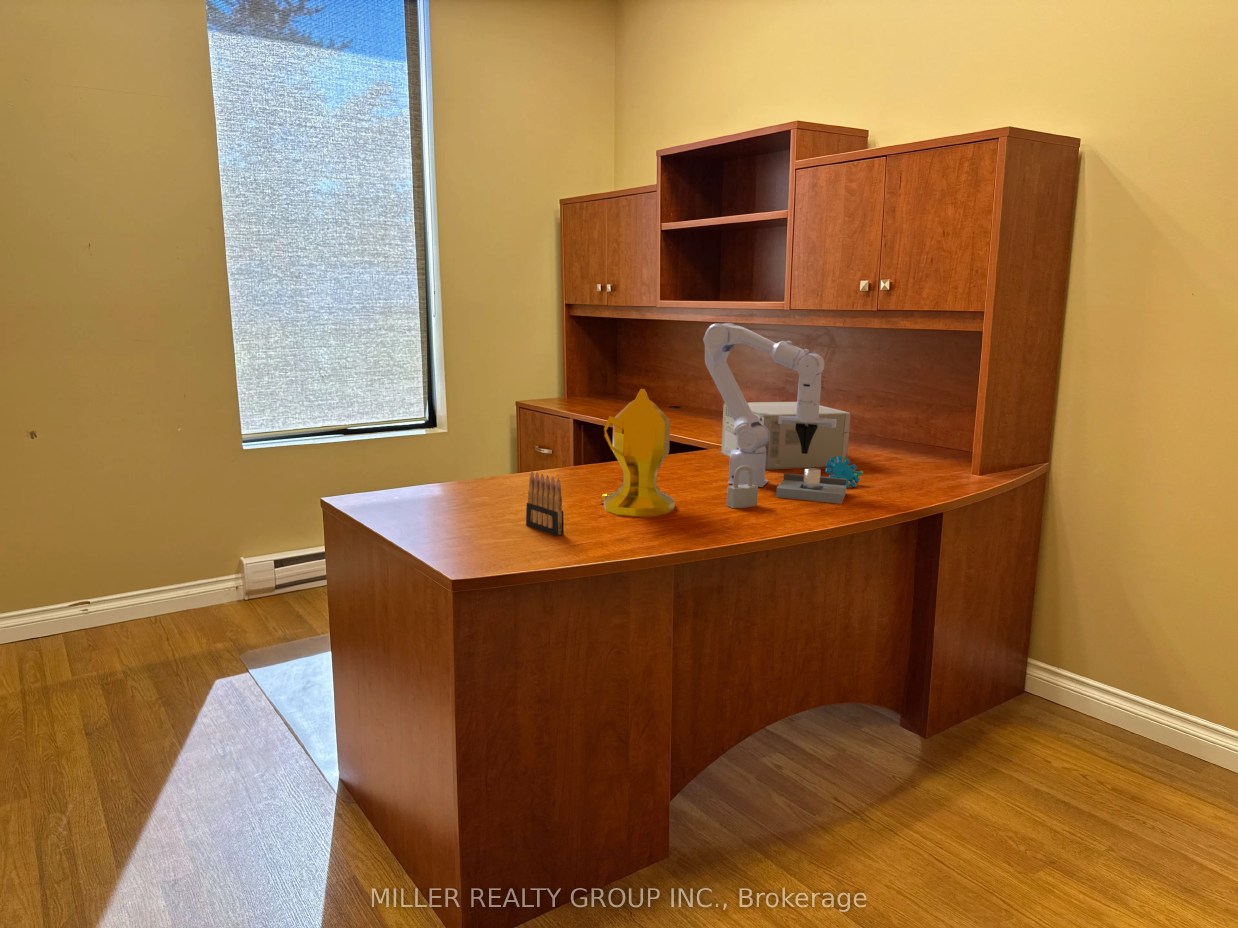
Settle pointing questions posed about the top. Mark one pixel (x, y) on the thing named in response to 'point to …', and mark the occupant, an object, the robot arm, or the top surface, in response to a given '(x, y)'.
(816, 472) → the cylindrical peg
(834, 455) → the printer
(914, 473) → the top surface
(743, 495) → the padlock
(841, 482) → the plate
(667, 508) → the trophy cup
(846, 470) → the gear
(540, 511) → the ammunition clip
